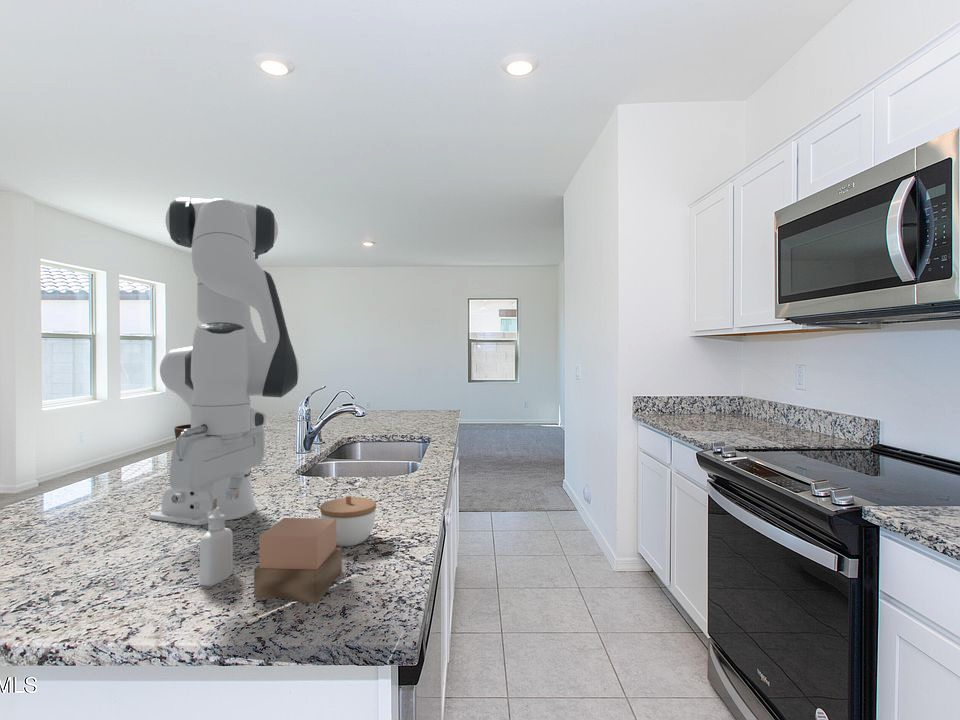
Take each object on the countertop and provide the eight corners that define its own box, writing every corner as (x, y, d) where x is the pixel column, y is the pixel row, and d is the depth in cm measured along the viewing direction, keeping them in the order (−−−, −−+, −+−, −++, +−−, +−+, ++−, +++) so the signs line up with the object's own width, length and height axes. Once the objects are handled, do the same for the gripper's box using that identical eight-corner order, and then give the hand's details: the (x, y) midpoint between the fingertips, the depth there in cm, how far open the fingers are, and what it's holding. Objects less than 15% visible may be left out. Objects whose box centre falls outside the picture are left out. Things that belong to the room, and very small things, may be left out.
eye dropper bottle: (193, 581, 87) (193, 508, 87) (228, 571, 91) (228, 501, 91) (203, 589, 84) (203, 514, 84) (239, 578, 88) (239, 506, 88)
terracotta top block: (259, 568, 81) (259, 535, 81) (283, 547, 90) (283, 517, 90) (317, 569, 81) (317, 536, 81) (336, 548, 90) (336, 518, 90)
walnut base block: (254, 601, 81) (254, 568, 81) (285, 574, 91) (285, 545, 91) (316, 605, 80) (316, 572, 80) (341, 577, 90) (341, 548, 90)
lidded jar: (347, 557, 98) (347, 506, 98) (308, 546, 104) (308, 498, 104) (387, 540, 107) (387, 494, 107) (349, 530, 113) (349, 486, 113)
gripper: (197, 431, 77) (197, 526, 77) (271, 413, 97) (271, 489, 97) (157, 430, 77) (157, 524, 78) (238, 413, 98) (239, 487, 98)
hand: (221, 504), depth 88 cm, fingers open, 5 cm apart
